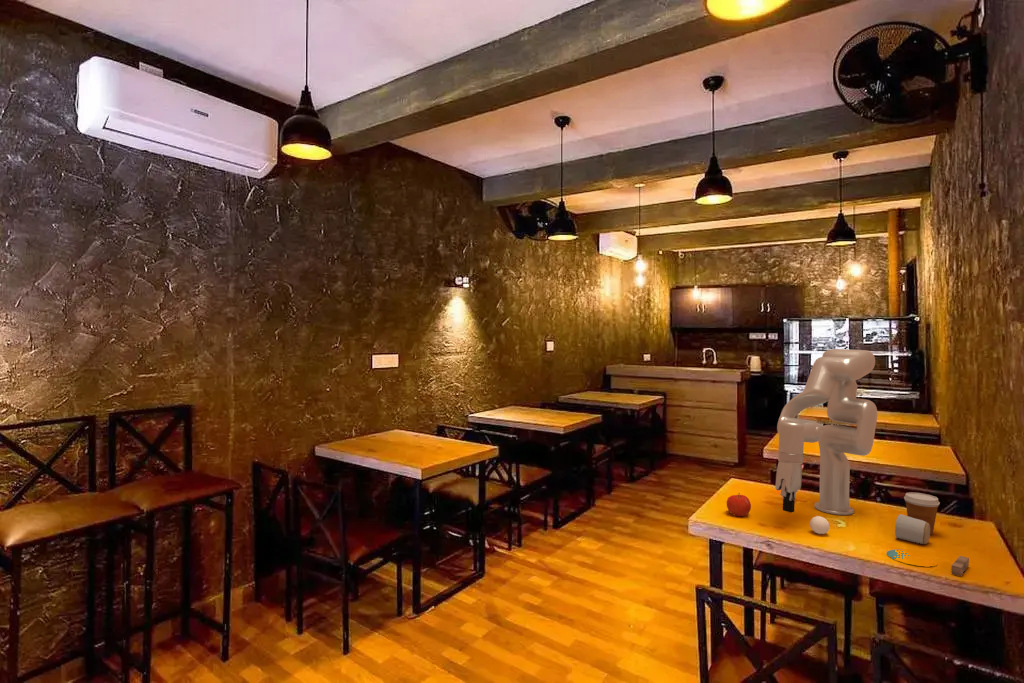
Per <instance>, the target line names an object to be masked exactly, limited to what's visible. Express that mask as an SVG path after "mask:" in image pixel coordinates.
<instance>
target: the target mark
mask: <svg viewBox="0 0 1024 683" xmlns="http://www.w3.org/2000/svg"><path fill="white" fill-rule="evenodd" d="M895 550H897V551H898V550H899V549H890V550H887V551H886V556H887V555H888V556H889V558H890V557H891V558H892V560H893V559H896V558H897V556H899V557H898V558H900V554H899V555H897V554H898V553H897V552H895ZM902 552H903V551H902ZM899 553H900V552H899ZM901 554H902V555H901V556H902V559H903V554H904V553H901ZM905 554H907V553H905ZM888 556H887V557H888ZM894 556H896V557H894ZM904 556H906V555H904ZM908 556H909V555H908ZM891 558H890V559H891Z"/></svg>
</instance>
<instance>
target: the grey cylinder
mask: <svg viewBox="0 0 1024 683" xmlns="http://www.w3.org/2000/svg"><path fill="white" fill-rule="evenodd" d="M930 536H931V535H930V525H929V523H927V522H925V521H923V520H919V519H915V518H912V517H909V516H907V515H906V514H905V515H904V514H900V513H899V514H898V516H897V517H896V521H895V526H894V537H895V538H896V539H898V538H899V540H903V541H906V540H907V542H911V543H915V542H916V543H915V544H919V543H920V545H927V544H928V543H929V539H930Z"/></svg>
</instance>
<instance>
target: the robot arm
mask: <svg viewBox="0 0 1024 683" xmlns="http://www.w3.org/2000/svg"><path fill="white" fill-rule="evenodd" d="M875 365H876V357H875V355H874V354H873V352H871V351H870V350H866V349H846V348H844V349H843V348H835V349H834V348H831V349H827V350H825V351H824V352H823V353H822V356H820V357H818V358H817V359H815V360H814V362H813V365H812V367H811V370H810V372H809V376H808V378H807V381H806V384H805V387H804V388H803V390H802V391H801V392H800V393H798V394H796V395H795V396H794V397H792V398H791V399H790V400H789V401H788V402H787V403H786V404H785V405H784V406H783V408H782V409H781V412H780V416H779V418H778V421H777V424H776V431H777V433H778V455H777V457H778V458H777V460H778V464H777V468H776V474H775V486H774V487H775V490H776V491H780V496H781V497H782V511H783V512H787V513H795V507H796V506H795V504H796V496H797V492H798V491H799V490H801V488H802V477H803V476H802V475H803V474H802V464H804V462H803V461H804V443H810V444H811V443H817V442H818V447H819V496H818V497H819V501H817V502H815V503H814V508H815V509H816V510H817V511H821V512H823V513H827V514H832V515H836V516H837V515H839V516H850V515H853V514H854V512H855V510H854V508H853V507H852V506H850V474H851V473H850V470H851V467H850V466H851V464H850V462H849V459H848V457H847V456H846V454H849V455H855V456H860V457H861V456H863V457H864V456H868V455H869V454H870V453H871V451H872V449H873V444H874V441H875V433H876V428H877V421H878V409H877V408H878V407H877V406H876V404H875V402H873V401H871V400H870V399H865V398H858V397H857V394H858V393H857V392H858V383H857V382H856V381H857V380H860V379H861V378H863V377H865V376H866V375H869V374H870V373H872V371H873V370H874V368H875ZM825 403H827V407H826V408H827V409H826V415H827V418H829V419H830V420H831V421H834V422H837V423H842V424H850V425H857V426H856V427H851V426H845V425H839V424H826V425H823V426H822V425H821V424H820V423H819V422H817V421H815V420H814V421H813V420H808V419H802V418H796V416H797V415H798V414H799V413H800V412H802V411H803V410H805V409H809V408H811V407H815V406H818V405H819V406H820V405H822V404H825Z"/></svg>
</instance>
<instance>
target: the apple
mask: <svg viewBox="0 0 1024 683" xmlns="http://www.w3.org/2000/svg"><path fill="white" fill-rule="evenodd" d="M726 507H727V510H728V511H729V513H730V514H732V515H734V516H737V517H744V516H746V515H748V514H749V513H750V511H751V508H752V505H751V500H750V499H749V498H748V497H747V496H746V495H745V494H744V495H743V494H740V492H738V494H733V495H732V494H731V495H730V496H729V497H728V498H727V499H726Z"/></svg>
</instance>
